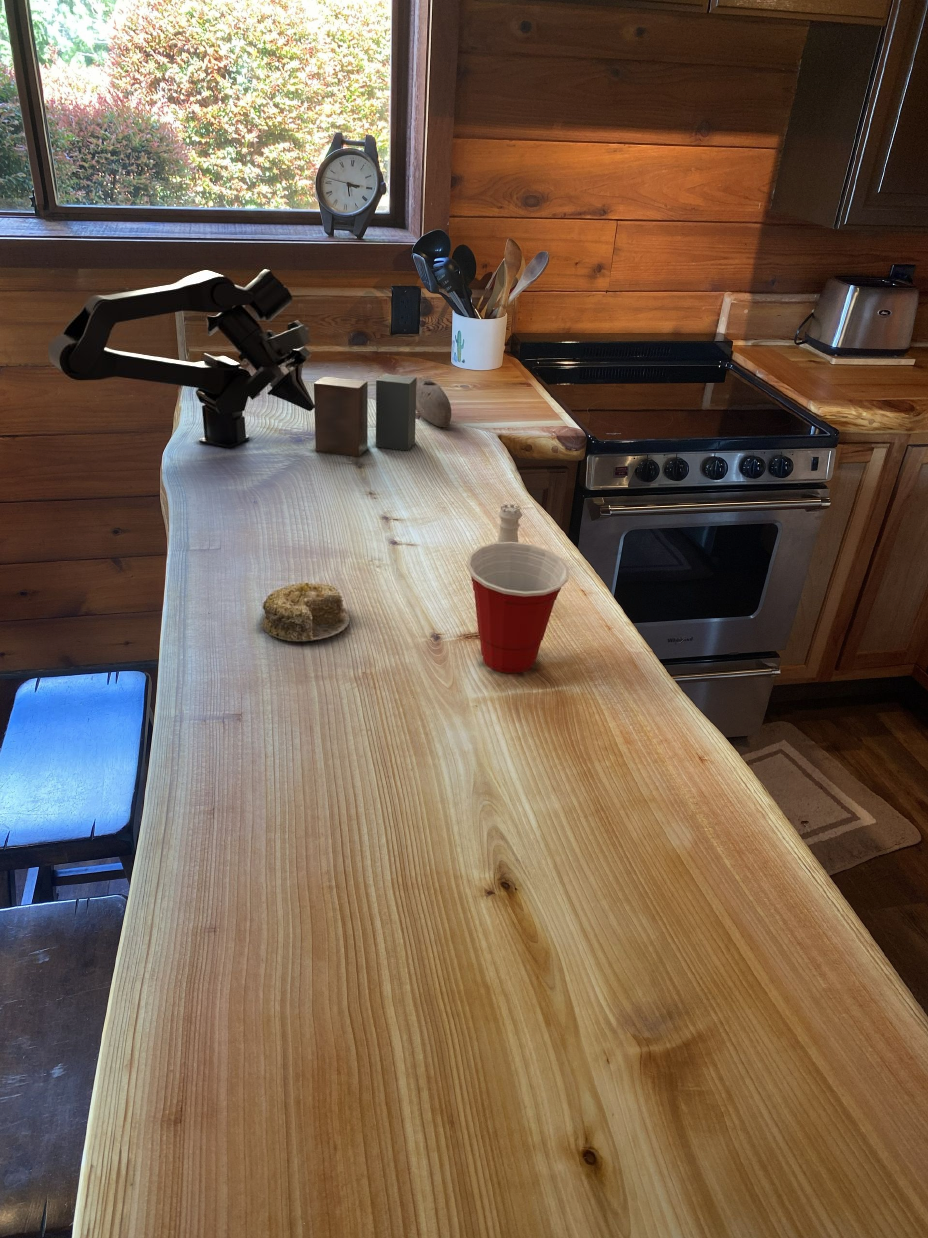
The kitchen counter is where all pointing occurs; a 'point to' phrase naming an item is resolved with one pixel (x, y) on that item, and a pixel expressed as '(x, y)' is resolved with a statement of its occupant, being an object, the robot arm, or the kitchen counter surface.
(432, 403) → the perforated stone tool
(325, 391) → the walnut block
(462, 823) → the kitchen counter surface
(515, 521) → the rook chess piece
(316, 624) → the cake
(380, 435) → the slate block
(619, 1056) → the kitchen counter surface
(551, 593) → the plastic cup
